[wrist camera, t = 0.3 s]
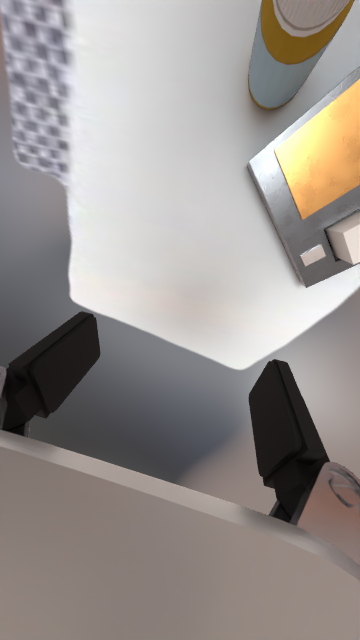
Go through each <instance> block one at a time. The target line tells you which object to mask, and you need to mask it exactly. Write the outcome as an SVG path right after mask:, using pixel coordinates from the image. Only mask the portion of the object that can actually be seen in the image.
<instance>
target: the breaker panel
mask: <svg viewBox="0 0 360 640" xmlns="http://www.w3.org/2000/svg"><path fill="white" fill-rule="evenodd" d="M247 167H248V170H249V172H250V174H251V176H252V178H253V180H254V183H255V185H256V187H257V189H258V191H259V193H260V196H261V198H262V200H263V202H264V204H265V206H266V209H267V211H268V213H269V215H270V217H271V219H272V222H273V224H274V226H275V228H276V230H277V232H278V235H279V237H280V239H281V241H282V243H283V245H284V248H285V250H286V252H287V254H288V256H289V258H290V261H291V263H292V265H293V267H294V269H295V271H296V274H297V276H298V278H299V280H300V282H301V283H302V284H303V285H304V286H305V287H306V288H307V287H309V286H312V285H314V284H316V283H318V282H320V281H323V280H325V279H327V278H329V277H331V276H333V275H336V274H338V273H340V272H342V271H344V270H346V269H349V268H351V267H353V266H355V265H357V264H360V262H358V263H356V264H354V265H353V264H351V263H348V262H346V261H344V260H342V259H339V258H337V257H335V254H334V255H333V253H332V251H331V248H330V245H329V242H328V240H327V237H326V234H325V232H324V229H325V228H326V227H328V226H330V225H332V224H333V223H335V222H337V221H339V220H340V219H342V218H344V217H346V216H347V215H349V214H351V213H353V212H354V211H356V210H358V209H360V66H359V67H358V68H357V69H356V70H355V71H354V72H352V73H351V74H350V75H349V76H348V77H347V78H345V79H344V80H343V81H342V82H341V83H340V84H339V85H337V86H336V87H335V88H334V89H333V90H332V91H330V92H329V93H328V94H327V95H326V96H325V97H323V98H322V99H321V100H320V101H319V102H318V103H316V104H315V105H314V106H313V107H312V108H311V109H309V110H308V111H307V112H306V113H305V114H304V115H302V116H301V117H300V118H299V119H298V120H297V121H295V122H294V123H293V124H292V125H291V126H290V127H288V128H287V129H286V130H285V131H284V132H283V133H281V134H280V135H279V136H278V137H277V138H276V139H274V140H273V141H272V142H271V143H270V144H269V145H267V146H266V147H265V148H264V149H263V150H262V151H260V152H259V153H258V154H257V155H256V156H255V157H254V158H252V159H251V160H250V161H249V162H248V164H247Z"/></svg>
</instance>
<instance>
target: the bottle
mask: <svg viewBox="0 0 360 640" xmlns="http://www.w3.org/2000/svg"><path fill="white" fill-rule="evenodd" d="M353 2H354V0H262V2H261V7H260V13H259V18H258V23H257V28H256V34H255V39H254V44H253V50H252V55H251V60H250V67H249V75H248V82H249V90H250V93H251V96H252V99H253V100H254V102H255V103H256V104H257V105H258V106H259V107H261V108H264V109H276V108H278V107H280V106H283V105H284V104H286V103H287V102H288V101H289V100H290V99H291V98H293V96H294V95H295V94H296V93H297V92H298V90H299V89H300V87H301V86H302V85H303V83H304V82H305V80H306V78H307V77H308V75H309V74H310V72H311V71H312V69H313V68H314V66H315V65H316V63H317V62H318V60H319V59H320V57H321V55H322V54H323V52H324V51H325V49H326V48H327V46H328V45H329V43H330V42H331V40H332V39H333V37H334V36H335V34H336V32H337V31H338V29H339V28H340V26H341V25H342V23H343V21H344V20H345V18H346V16H347V14H348V13H349V11H350V9H351V7H352V5H353Z"/></svg>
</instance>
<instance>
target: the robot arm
mask: <svg viewBox="0 0 360 640" xmlns="http://www.w3.org/2000/svg"><path fill="white" fill-rule="evenodd" d="M99 357H100V346H99V338H98V330H97V322H96V318H95V317H94V316H93V314H90V313H86V312H79V313H78V314H77V315H75V316H74V317H72V318H71V319H70V320H68V321H67V322H65V323H64V324H63V325H61V326H60V327H59V328H58V329H56V330H55V331H53V332H52V333H50V334H49V335H48V336H46V337H45V338H44V339H42V340H41V341H39V342H38V343H37V344H35V345H34V346H32V347H31V348H30V349H28V350H27V351H26V352H24V353H23V354H22V355H20V356H19V357H17V358H16V359H15V360H13V361H12V362H11V363H9V366H10V367H9V368H7V369H6V370H5V368H4V367H1V366H0V640H360V479H359V478H358V477H356V475H354V474H353V473H352V472H351V471H350V470H348V469H347V468H346V467H344V466H342V465H340V464H338V463H335V462H330V460H329V458H328V456H327V453H326V451H325V449H324V447H323V444H322V442H321V439H320V437H319V434H318V432H317V430H316V427H315V425H314V423H313V420H312V418H311V416H310V413H309V411H308V408H307V406H306V404H305V401H304V399H303V397H302V396H301V393H300V391H299V388H298V386H297V384H296V382H295V379H294V377H293V374H292V372H291V370H290V367H289V365H288V363H287V362H284V361H279V360H276V359H274V360H273V361H269V362H268V363H267V365H266V367H265V368H264V370H263V372H262V374H261V375H260V377H259V378H258V380H257V382H256V383H255V385H254V387H253V388H252V390H251V392H250V394H249V405H250V413H251V420H252V428H253V435H254V442H255V449H256V457H257V464H258V471H259V474H260V476H262V477H263V482H264V486H267V487H270V488H274V489H275V492H276V498H277V501H276V502H275V504H274V506H273V508H272V510H271V511H270V513H269V515H266V514H262V513H260V512H257V511H254V510H251V509H248V508H245V507H242V506H240V505H237V504H234V503H230V502H227V501H224V500H221V499H218V498H215V497H212V496H209V495H206V494H203V493H200V492H196V491H194V490H191V489H188V488H184V487H182V486H178V485H175V484H172V483H169V482H166V481H163V480H160V479H157V478H154V477H150V476H147V475H144V474H141V473H138V472H135V471H132V470H129V469H126V468H122V467H119V466H116V465H113V464H110V463H107V462H104V461H101V460H97V459H94V458H91V457H88V456H85V455H81V454H78V453H75V452H72V451H69V450H65V449H62V448H59V447H56V446H53V445H50V444H47V443H43V442H40V441H37V440H34V439H30V438H28V437H29V427H30V420H31V418H32V417H33V416H34V415H36V416H40V417H43V418H47V417H48V416H49V414H50V413H53V412H54V411H56V410H57V409H58V407H59V406H60V405H61V404H62V403H63V401H64V400H65V399H66V398H67V396H68V395H69V394H70V393H71V392H72V390H73V389H74V388H75V386H76V385H77V384H78V383H79V382H80V381H81V379H82V378H83V377H84V376H85V375H86V373H87V372H88V371H89V370H90V368H91V367H92V366H93V365H94V364H95V362H96V361H97V360H98V359H99Z"/></svg>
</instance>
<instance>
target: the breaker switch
mask: <svg viewBox="0 0 360 640" xmlns="http://www.w3.org/2000/svg"><path fill="white" fill-rule="evenodd" d="M325 230H326V232H327V235H328V238H329V241H330V243H331V246H332V249H333V252H334V254H335V257H337V258H339V259H342V260H344V261H346V262H348V263H351V264H353V265H354V264H356V263H358V262H360V210H358V211H356V212H355V213H353V214H351V215H349V216H348V217H346V218H344V219H342V220H341V221H339V222H337V223H335V224H334V225H332V226H330V227H328V228H327V229H325Z"/></svg>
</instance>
